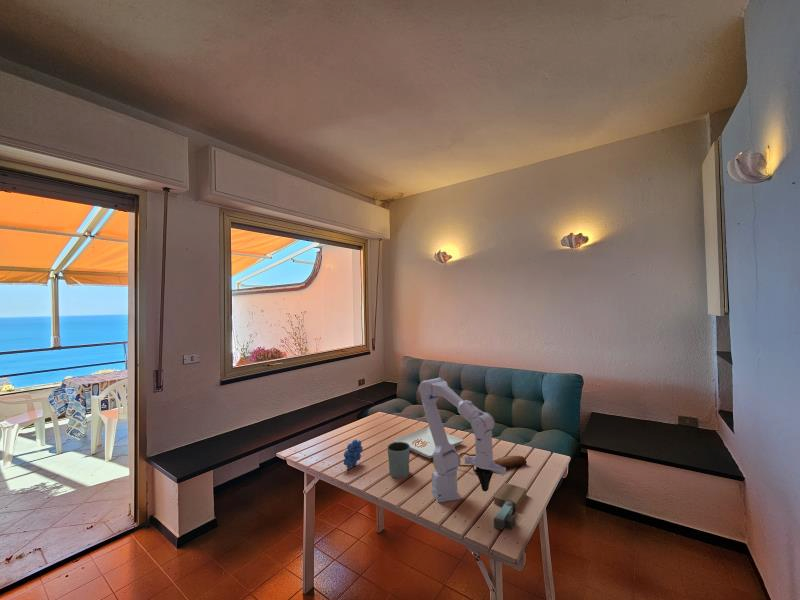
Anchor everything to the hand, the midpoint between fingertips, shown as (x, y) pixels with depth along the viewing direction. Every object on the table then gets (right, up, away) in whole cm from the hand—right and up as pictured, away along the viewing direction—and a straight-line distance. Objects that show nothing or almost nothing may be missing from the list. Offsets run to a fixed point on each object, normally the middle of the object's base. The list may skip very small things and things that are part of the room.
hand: (485, 489), depth 110 cm
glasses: (+1, -11, +37) cm, 39 cm away
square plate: (-14, -13, +59) cm, 62 cm away
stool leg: (+6, -8, -3) cm, 10 cm away
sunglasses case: (+18, -11, +35) cm, 41 cm away
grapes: (-52, -12, +39) cm, 66 cm away
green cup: (-30, -11, +30) cm, 44 cm away
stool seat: (+9, -8, +4) cm, 13 cm away
